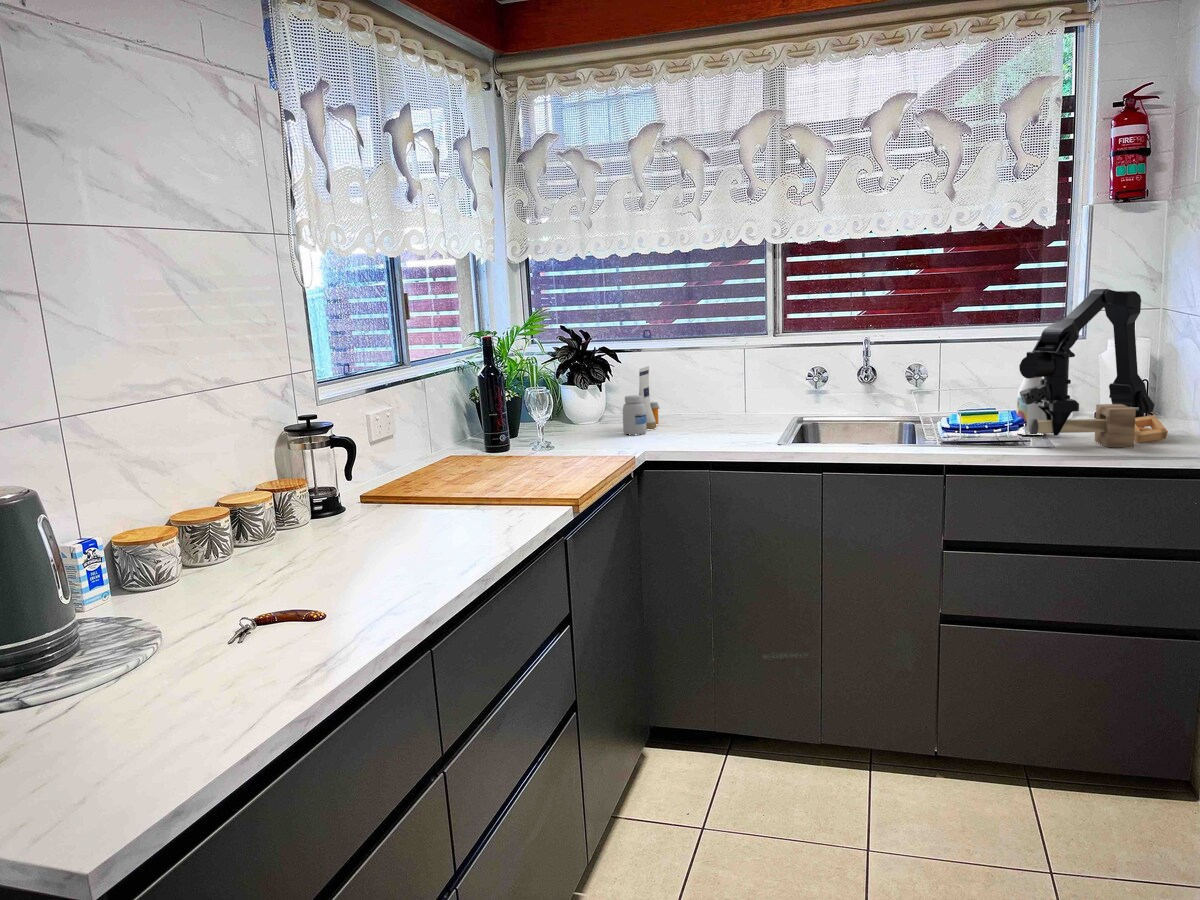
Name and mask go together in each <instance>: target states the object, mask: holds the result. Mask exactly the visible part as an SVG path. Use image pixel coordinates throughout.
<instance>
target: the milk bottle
mask: <svg viewBox="0 0 1200 900" xmlns="http://www.w3.org/2000/svg"><path fill="white" fill-rule="evenodd" d="M1042 379H1043V377H1038V378H1025V377H1024V378H1023V380H1022V382H1021V384H1020V386H1019V388H1018V390H1017V391H1018V392H1017V397H1016V398H1017V400H1016V416H1017V415H1018V416H1019V417H1021V418H1023V419H1024V420H1025V421H1026V424H1025V429H1026V430H1027V431H1029V422H1030V420H1031V419H1037V420H1046V416H1045V413H1044V412H1043V411H1042V410H1041V409H1040V408H1038V406H1041V403H1038V404H1035V403H1032V404H1028V405H1026V404H1025V403H1023V401H1022V398H1021V395H1020V393H1019V392H1020V391H1023V390H1026V389H1028V388H1031V387H1034V386H1037V385H1040V381H1041V380H1042ZM1029 432H1030V431H1029ZM1043 434H1045V435H1046V434H1047V433H1043Z"/></svg>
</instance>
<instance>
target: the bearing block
mask: <svg viewBox="0 0 1200 900" xmlns="http://www.w3.org/2000/svg"><path fill="white" fill-rule="evenodd" d="M1134 408H1135V407H1133V408H1131V407H1128V406H1125V405H1122V404H1112V403H1110V404H1109V403H1108V404H1107V403H1106V404H1105V403H1104V404H1096V405H1095V419H1106V424H1105V432H1094V442H1095V441H1096V442H1095V443H1097V442H1098V443H1097V444H1099V443H1100V444H1099V445H1101V444H1102V445H1101V446H1103V445H1105V446H1107V447H1132V448H1131V449H1133V448H1134V447H1135V444H1134V443H1135V440H1134V432H1135V415H1136V409H1134ZM1105 446H1104V447H1105ZM1107 447H1106V448H1107Z"/></svg>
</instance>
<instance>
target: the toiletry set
mask: <svg viewBox="0 0 1200 900" xmlns="http://www.w3.org/2000/svg"><path fill="white" fill-rule="evenodd" d="M649 372H650V366H648V365H647V366H645V367H641V368H639V373H638V374H639V376H638V377H639V386H638V387H639V388H638V389H639V390H638V394H637V395H634V394H633V395H625V396H624V403H623V406H622V423H623V424H622V425H623V430H622V431H623V434H624V435H625V434H630V435H629V436H636V435H635V434H643V435H645V434H646V433H647V431H648V430H647V429H654V428H656V429H657V425H656V424H660V423H659V409H660V405H659V402H658V401H652V402H651V399H650V398H651V397H650V379H649V378H650V377H649V376H650V373H649ZM646 430H647V431H646ZM654 430H655V429H654ZM644 433H645V434H644Z"/></svg>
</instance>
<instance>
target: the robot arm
mask: <svg viewBox="0 0 1200 900" xmlns="http://www.w3.org/2000/svg"><path fill="white" fill-rule="evenodd" d="M1141 307H1142V296H1141V295H1140V294H1139V293H1138V292H1137V291H1135V290H1132V291H1131V290H1123V291H1122V290H1117V291H1116V290H1114V289H1110V288H1095V289H1093V290H1090V292H1089V293H1088V296H1086V297H1085V298H1084V299H1083V300H1082V301H1081V302H1080V303H1079V304H1078V305H1077V306H1076V307H1075V308H1074V309H1073V310H1072V311H1071V312H1069V314H1067V315H1066V316H1065V317H1064V318H1063V319H1061V320H1058V321H1055V322H1053V323H1051V324H1049V325H1048V326H1047V327H1045V328H1044V329H1043V331H1042V332H1041V335H1040V337H1039V339H1038V340H1037V342H1036V344H1035V346H1034V347H1033V349H1032V351H1027V352H1026V356H1025V357H1023V358H1022V359H1021V361H1020V364H1019V369H1018V370H1019V373H1020V374H1021V376H1022V377H1025V378H1038V377H1042V380H1041V381H1040V385H1037V386H1034V387H1031V388H1028V389H1026V390H1023V391H1020V392H1019V393H1020V395H1021V398H1022V401H1023V403H1025V404H1026V405H1028V404H1032V403H1035V404H1038V403H1041V406H1038V408H1040V409H1041V410H1042V411H1043V412H1044V413H1045V416H1046V420H1052V429H1053V433H1052V434H1053V436H1059V435H1060V434H1061V433H1060V431H1061V429H1062V427H1063V426H1064V424H1065V422H1066V420H1069V419H1068V418H1069V417H1070V415H1071V414H1072V413H1073V412H1080V403H1079V402H1078V401H1077V400H1076V399H1072V398H1071V395H1070V394H1068V391H1069V384H1071V383H1072V381H1071V379H1069V370H1070V358H1075V356H1076V354H1075V353H1074V352H1073V351H1072V350H1071V348H1073V346H1074V345H1075V343H1076V342H1077V341H1078V339H1079V338H1080V331H1081V330H1082V329H1083V328H1084V327H1085V326H1086V325H1087V324H1088V323H1090V321H1091V320H1092V319H1094V317H1096V316H1097V315H1098V314H1099V313H1100V312H1101V311H1102V310H1103V309H1104V312H1105V316H1106V317H1107V319H1108V320H1109V322H1110V323H1111V324H1112V326H1113V338H1114V339H1113V341H1114V351H1115V352H1114V354H1115V368H1116V377H1115V379H1114V381H1113V382H1111V383H1109V385H1108V389H1109V397H1108V398H1109V399H1110V401H1111V404H1122V405H1125V406H1128V407H1131V408H1134V409H1136V415H1135V418H1138V417H1144V416H1146V415H1145V414H1150V413H1153V412H1154V409H1155V403H1154V402H1153V400H1152V398H1151V397H1150V396H1149V395H1148V391H1147V388H1146V383H1145V382H1144V380H1143V379H1142V377H1141V376H1140V375H1139V372H1138V359H1137V358H1138V357H1137V342H1136V341H1137V340H1136V328H1135V324H1136V321H1137V320H1138V317H1139V316H1140V314H1141V309H1142V308H1141ZM1143 428H1145V427H1143Z"/></svg>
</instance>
